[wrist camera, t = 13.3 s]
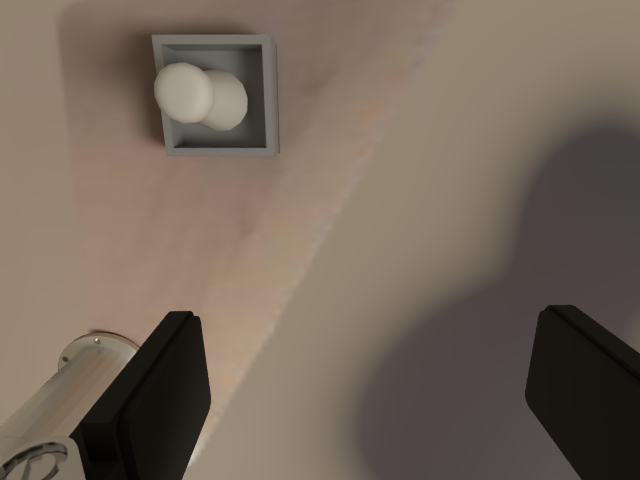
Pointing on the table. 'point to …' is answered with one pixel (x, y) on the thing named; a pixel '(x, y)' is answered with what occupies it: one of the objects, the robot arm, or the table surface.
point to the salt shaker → (201, 96)
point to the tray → (250, 69)
